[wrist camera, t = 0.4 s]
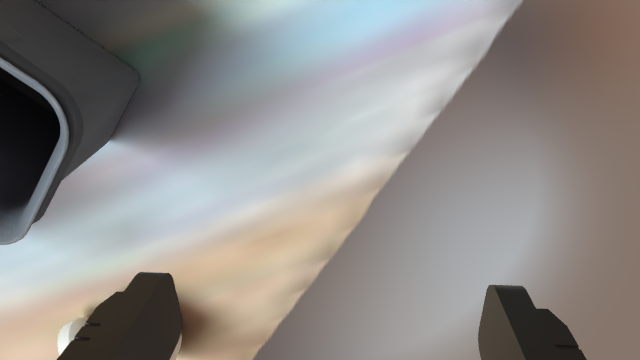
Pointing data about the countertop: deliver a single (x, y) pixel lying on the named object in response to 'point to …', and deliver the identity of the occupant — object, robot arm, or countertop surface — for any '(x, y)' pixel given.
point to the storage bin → (50, 108)
